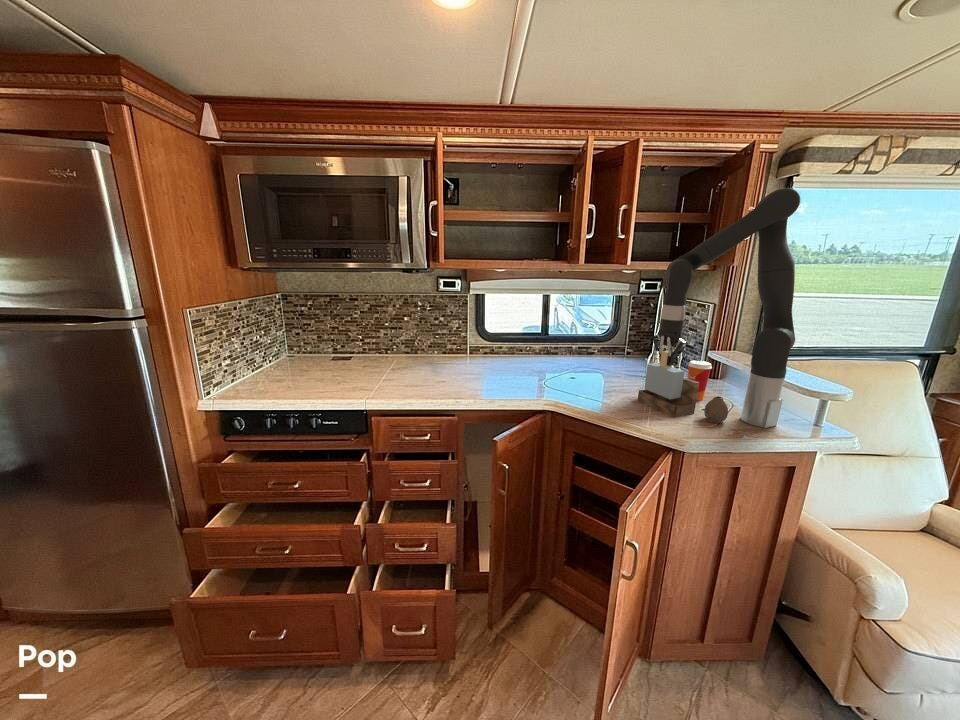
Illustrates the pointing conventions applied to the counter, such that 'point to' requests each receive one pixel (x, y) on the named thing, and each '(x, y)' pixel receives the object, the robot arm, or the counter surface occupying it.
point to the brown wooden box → (673, 400)
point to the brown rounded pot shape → (716, 410)
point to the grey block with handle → (664, 378)
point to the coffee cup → (699, 375)
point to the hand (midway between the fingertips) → (665, 364)
